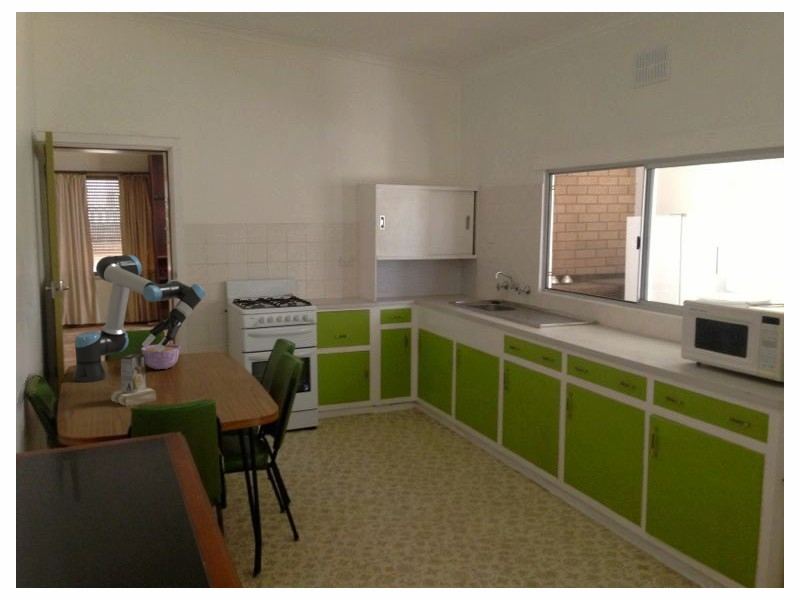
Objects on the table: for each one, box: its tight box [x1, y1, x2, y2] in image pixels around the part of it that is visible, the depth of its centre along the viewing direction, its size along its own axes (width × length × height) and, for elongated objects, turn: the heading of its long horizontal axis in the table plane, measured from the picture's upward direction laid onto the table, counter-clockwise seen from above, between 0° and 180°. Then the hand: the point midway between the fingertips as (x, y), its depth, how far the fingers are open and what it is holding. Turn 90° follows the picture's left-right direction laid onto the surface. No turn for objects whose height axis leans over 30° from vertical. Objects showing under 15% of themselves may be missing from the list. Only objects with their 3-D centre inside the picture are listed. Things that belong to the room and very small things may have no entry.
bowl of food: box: [140, 343, 181, 371], centre depth 365 cm, size 20×20×12 cm
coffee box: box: [120, 353, 147, 393], centre depth 302 cm, size 9×6×16 cm
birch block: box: [110, 386, 157, 407], centre depth 303 cm, size 14×14×5 cm
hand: (150, 348), depth 306 cm, fingers open, 13 cm apart
